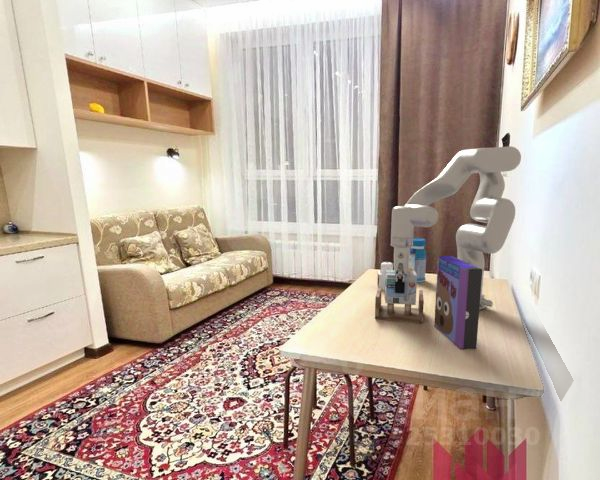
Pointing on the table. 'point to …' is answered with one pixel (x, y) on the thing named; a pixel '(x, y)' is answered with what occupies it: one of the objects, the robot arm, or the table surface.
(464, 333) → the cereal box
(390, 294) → the light bulb box
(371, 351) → the table surface
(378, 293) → the peg stand
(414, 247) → the beverage bottle
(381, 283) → the medicine bottle
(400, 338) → the table surface
